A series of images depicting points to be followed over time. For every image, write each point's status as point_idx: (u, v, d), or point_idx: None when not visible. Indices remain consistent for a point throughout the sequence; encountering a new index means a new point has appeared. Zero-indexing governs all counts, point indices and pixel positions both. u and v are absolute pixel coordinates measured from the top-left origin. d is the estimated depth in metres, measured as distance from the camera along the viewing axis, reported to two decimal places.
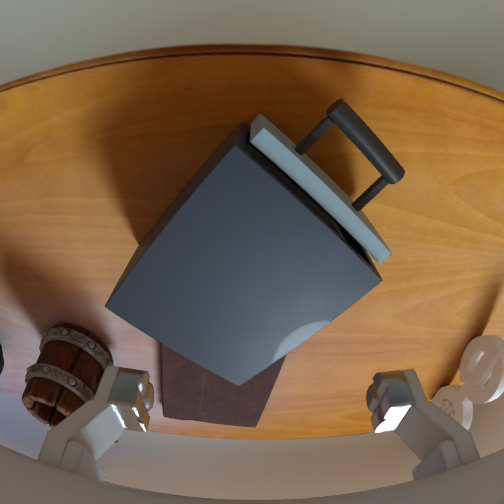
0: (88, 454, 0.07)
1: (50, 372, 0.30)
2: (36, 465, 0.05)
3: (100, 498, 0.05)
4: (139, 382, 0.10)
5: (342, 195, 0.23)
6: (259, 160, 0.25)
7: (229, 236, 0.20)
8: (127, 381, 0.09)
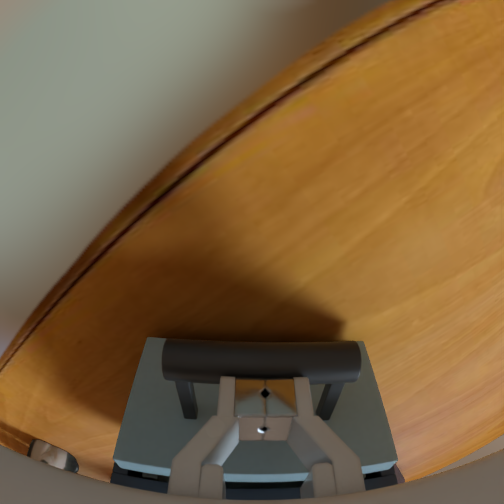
0: (223, 475, 0.07)
1: None
2: (36, 465, 0.05)
3: (100, 498, 0.05)
4: (260, 390, 0.10)
5: None
6: None
7: None
8: (249, 390, 0.09)
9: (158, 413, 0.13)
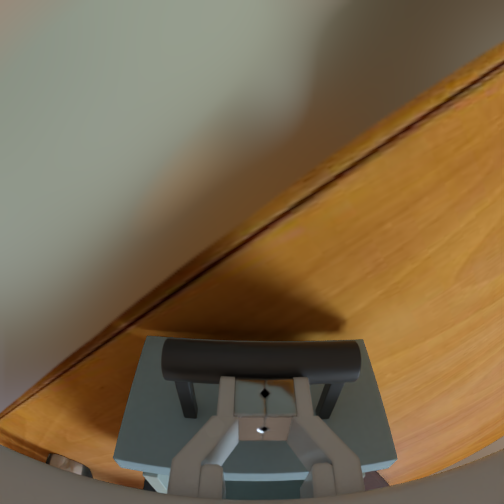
0: (223, 475, 0.07)
1: None
2: (36, 465, 0.05)
3: (100, 498, 0.05)
4: (259, 390, 0.10)
5: None
6: None
7: None
8: (249, 391, 0.09)
9: (158, 412, 0.13)
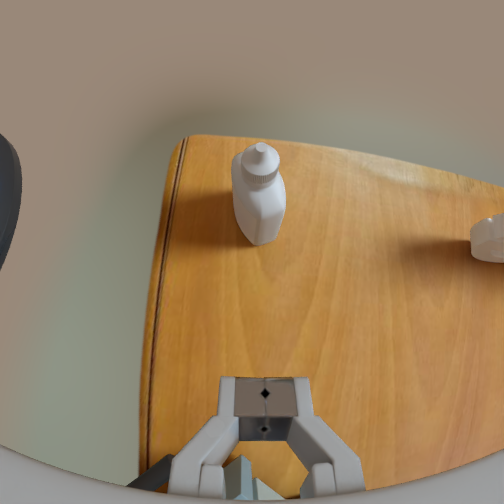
0: (223, 475, 0.07)
1: None
2: (36, 465, 0.05)
3: (100, 498, 0.05)
4: (260, 390, 0.10)
5: None
6: None
7: None
8: (249, 391, 0.09)
9: None
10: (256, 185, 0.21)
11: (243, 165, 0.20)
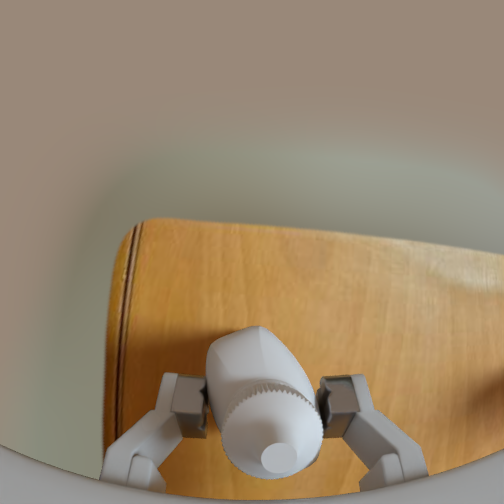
0: (155, 468, 0.07)
1: None
2: (36, 465, 0.05)
3: (100, 498, 0.05)
4: (201, 388, 0.10)
5: None
6: None
7: None
8: (189, 388, 0.09)
9: None
10: None
11: (227, 453, 0.07)
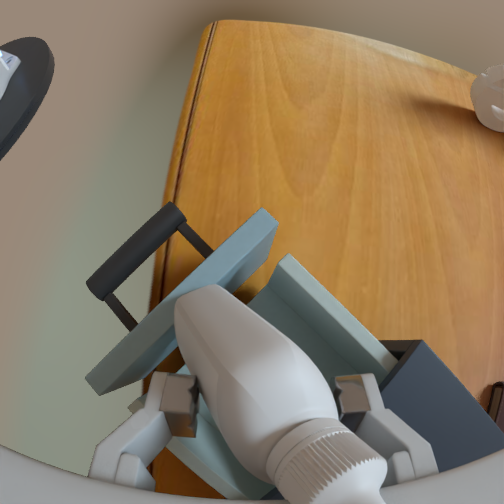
0: (143, 466, 0.07)
1: None
2: (36, 465, 0.05)
3: (100, 498, 0.05)
4: (190, 387, 0.10)
5: None
6: None
7: None
8: (178, 387, 0.09)
9: None
10: None
11: None
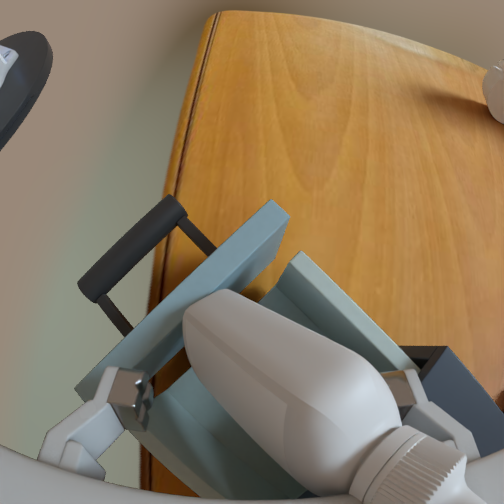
0: (87, 454, 0.07)
1: None
2: (36, 465, 0.05)
3: (100, 498, 0.05)
4: (138, 382, 0.10)
5: None
6: (180, 384, 0.18)
7: None
8: (126, 381, 0.09)
9: None
10: None
11: None
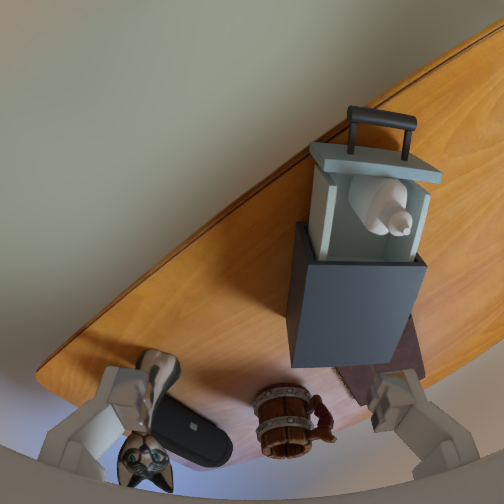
0: (88, 454, 0.07)
1: (273, 423, 0.49)
2: (36, 465, 0.05)
3: (100, 498, 0.05)
4: (138, 381, 0.10)
5: (392, 158, 0.30)
6: None
7: (334, 301, 0.34)
8: (127, 381, 0.09)
9: (335, 152, 0.29)
10: (384, 223, 0.27)
11: (389, 219, 0.26)
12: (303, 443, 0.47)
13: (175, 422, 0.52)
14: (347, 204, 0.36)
